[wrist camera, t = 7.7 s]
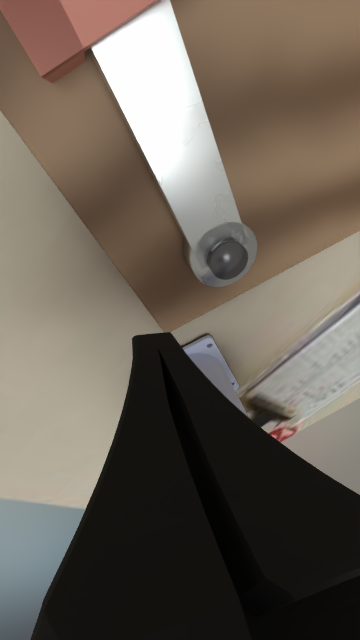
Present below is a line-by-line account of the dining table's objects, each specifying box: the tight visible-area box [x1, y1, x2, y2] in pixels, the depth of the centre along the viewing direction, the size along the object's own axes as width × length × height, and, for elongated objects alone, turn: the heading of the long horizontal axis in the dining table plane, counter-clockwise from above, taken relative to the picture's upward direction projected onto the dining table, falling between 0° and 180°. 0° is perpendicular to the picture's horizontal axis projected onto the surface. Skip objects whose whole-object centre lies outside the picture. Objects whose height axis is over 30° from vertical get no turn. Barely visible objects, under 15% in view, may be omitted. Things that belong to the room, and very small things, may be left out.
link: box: [89, 0, 257, 287], centre depth 12 cm, size 16×4×2 cm, turn 26°
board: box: [0, 0, 360, 333], centre depth 14 cm, size 20×19×1 cm
